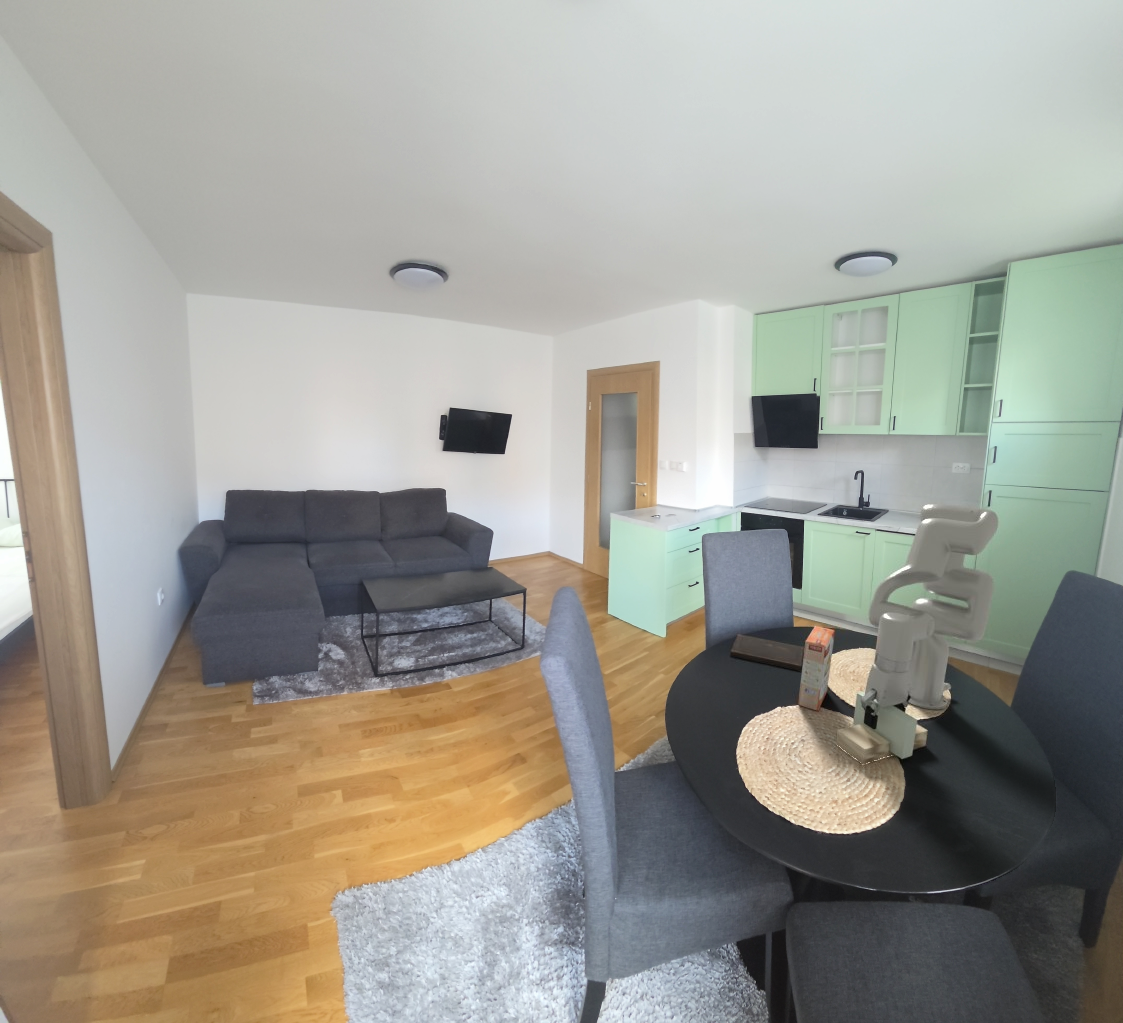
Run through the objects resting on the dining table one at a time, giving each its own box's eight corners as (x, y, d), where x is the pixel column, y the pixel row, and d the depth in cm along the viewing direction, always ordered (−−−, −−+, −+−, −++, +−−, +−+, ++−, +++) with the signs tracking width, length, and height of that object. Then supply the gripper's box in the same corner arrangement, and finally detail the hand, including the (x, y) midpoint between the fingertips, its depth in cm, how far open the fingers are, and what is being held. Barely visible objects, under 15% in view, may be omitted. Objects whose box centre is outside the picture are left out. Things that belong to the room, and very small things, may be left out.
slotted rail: (896, 727, 139) (898, 713, 138) (925, 745, 131) (927, 730, 131) (835, 745, 132) (837, 730, 131) (862, 765, 124) (864, 749, 123)
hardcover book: (737, 639, 194) (738, 634, 193) (803, 652, 183) (803, 646, 183) (730, 657, 180) (730, 651, 180) (800, 672, 169) (801, 666, 169)
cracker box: (819, 712, 146) (826, 646, 142) (797, 705, 150) (803, 640, 145) (828, 691, 157) (835, 629, 153) (808, 685, 160) (814, 624, 156)
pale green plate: (862, 723, 138) (866, 690, 136) (911, 755, 125) (917, 719, 124) (852, 726, 137) (856, 693, 135) (901, 758, 124) (907, 722, 122)
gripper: (902, 649, 133) (894, 708, 137) (853, 660, 127) (846, 721, 131) (931, 663, 126) (921, 723, 130) (880, 675, 121) (872, 738, 124)
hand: (883, 722), depth 130 cm, fingers open, 9 cm apart
